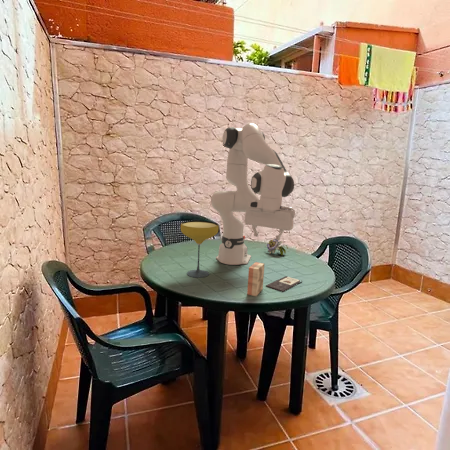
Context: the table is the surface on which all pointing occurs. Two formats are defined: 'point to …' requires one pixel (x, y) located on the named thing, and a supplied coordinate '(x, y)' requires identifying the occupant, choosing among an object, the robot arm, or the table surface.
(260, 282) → the tan wooden block
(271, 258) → the table surface
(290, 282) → the chocolate bar
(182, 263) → the table surface
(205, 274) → the cocktail glass
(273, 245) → the passion flower
